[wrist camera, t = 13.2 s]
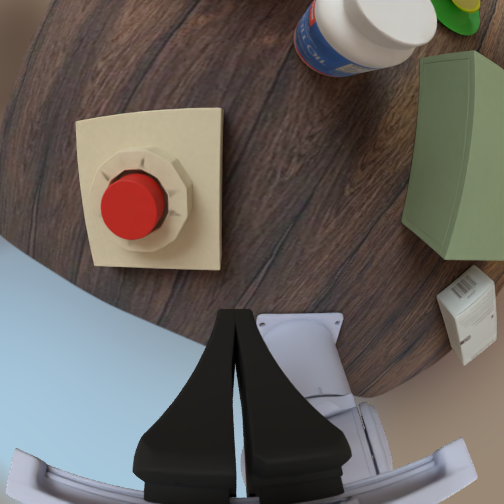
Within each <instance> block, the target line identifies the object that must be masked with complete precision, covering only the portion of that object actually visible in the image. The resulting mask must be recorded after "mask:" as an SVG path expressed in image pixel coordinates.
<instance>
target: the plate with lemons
mask: <svg viewBox="0 0 504 504" xmlns="http://www.w3.org/2000/svg"><path fill="white" fill-rule="evenodd" d="M430 1H431V3H432V5H433V7H434V9H435V13H436V17H437V19H438V20H439V21H440V22H442V23H443V24H444V25H445V26H447V27H448V28H449V29H451V30H453V31H454V32H456V33H459V34H462V35H473V34H474V33H476V32H477V30H478V29H479V25H480V15H479V8H480V0H430Z"/></svg>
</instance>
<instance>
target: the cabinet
mask: <svg viewBox="0 0 504 504" xmlns="http://www.w3.org/2000/svg"><path fill="white" fill-rule="evenodd" d="M401 223H403V224H404V225H405V226H406V227H408V228H409V229H410V230H411V231H412V232H414V233H415V234H416V235H417V236H418V237H419V238H421V239H422V240H423V241H424V242H425V243H426V244H428V245H429V246H430V247H431V248H432V249H433V250H434V251H436V252H437V253H438V254H439V255H440V256H441V257H442V258H443V259H444V260H504V70H503V69H502V68H501V67H499V66H498V65H496V64H495V63H493V62H492V61H490V60H489V59H487V58H486V57H484V56H483V55H481V54H479V53H478V52H476V51H465V52H456V53H449V54H442V55H436V56H430V57H424V58H420V81H419V102H418V116H417V126H416V136H415V144H414V152H413V159H412V166H411V172H410V178H409V184H408V189H407V195H406V200H405V205H404V209H403V214H402V219H401Z"/></svg>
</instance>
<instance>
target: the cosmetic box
mask: <svg viewBox="0 0 504 504" xmlns="http://www.w3.org/2000/svg"><path fill="white" fill-rule="evenodd" d="M436 297H437V301H438V303H439V306H440V309H441V313H442V316H443V319H444V323H445V326H446V330H447V333H448V337H449V341H450V345H451V348H452V349H453V350H454V352H455V353H456V355H457V356H458V358H459V359H460V361H461V363H462V364H463V366H465V365H466V364H467V363H468V362H470V361H471V360H472V359H474V358H475V357H476V356H477V355H479V354H480V353H481V352H482V351H483V350H485V349H486V348H487V347H488V346H489V345H490V344H492V343H493V342H494V341H495V340H496V335H497V334H496V330H497V329H496V326H497V325H496V298H495V285H494V282H493V281H492V280H491V279H490V278H489V277H488V276H487V275H486V274H485V273H483V272H482V271H481V270H480V269H479V268H478V267H476V266H475V265H472V266H471V267H470V268H469V269H468V270H466V271H465V272H464V273H463V274H462V275H461V276H460V277H459V278H457V279H456V280H455V281H454V282H453V283H452V284H450V285H449V286H448V287H447V288H445V289H444V290H443V291H442V292H440V293H439V294H438V295H437V296H436Z"/></svg>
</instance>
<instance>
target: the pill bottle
mask: <svg viewBox="0 0 504 504" xmlns="http://www.w3.org/2000/svg"><path fill="white" fill-rule="evenodd" d="M436 29H437V17H436V13H435V9H434V7H433V5H432V3H431V1H430V0H314V1H313V2H312V3H311V5H310V6H309V8H308V9H307V11H306V12H305V13H304V15H303V16H302V17H301V19H300V20H299V22H298V23H297V25H296V28H295V31H294V45H295V49H296V51H297V53H298V55H299V57H300V58H301V59H302V61H303V62H304V63H305V64H306V65H307V66H308V67H310V68H311V69H313V70H314V71H316V72H318V73H320V74H323V75H326V76H330V77H347V76H351V75H355V74H359V73H363V72H368V71H373V70H377V69H382V68H387V67H391V66H395V65H398V64H400V63H402V62H404V61H405V60H407V59H408V58H409V57H410V56H411V54H412V53H413V51H414V49H415V47H418V46H421V45H424V44H426V43H428V42H429V41H430V40H431V39H432V38H433V36H434V35H435V32H436Z"/></svg>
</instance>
